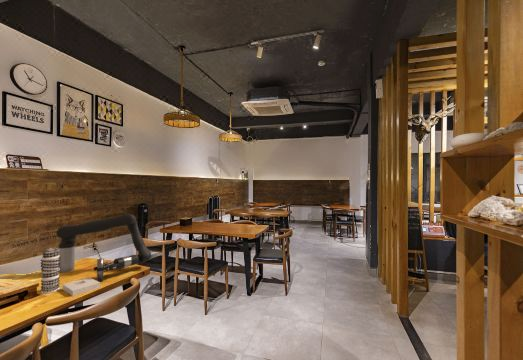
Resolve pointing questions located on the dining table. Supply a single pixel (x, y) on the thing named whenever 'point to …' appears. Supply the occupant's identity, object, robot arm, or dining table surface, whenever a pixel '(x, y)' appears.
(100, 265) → the metal pin
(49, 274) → the tiered tower model
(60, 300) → the dining table surface
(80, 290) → the hole plate
